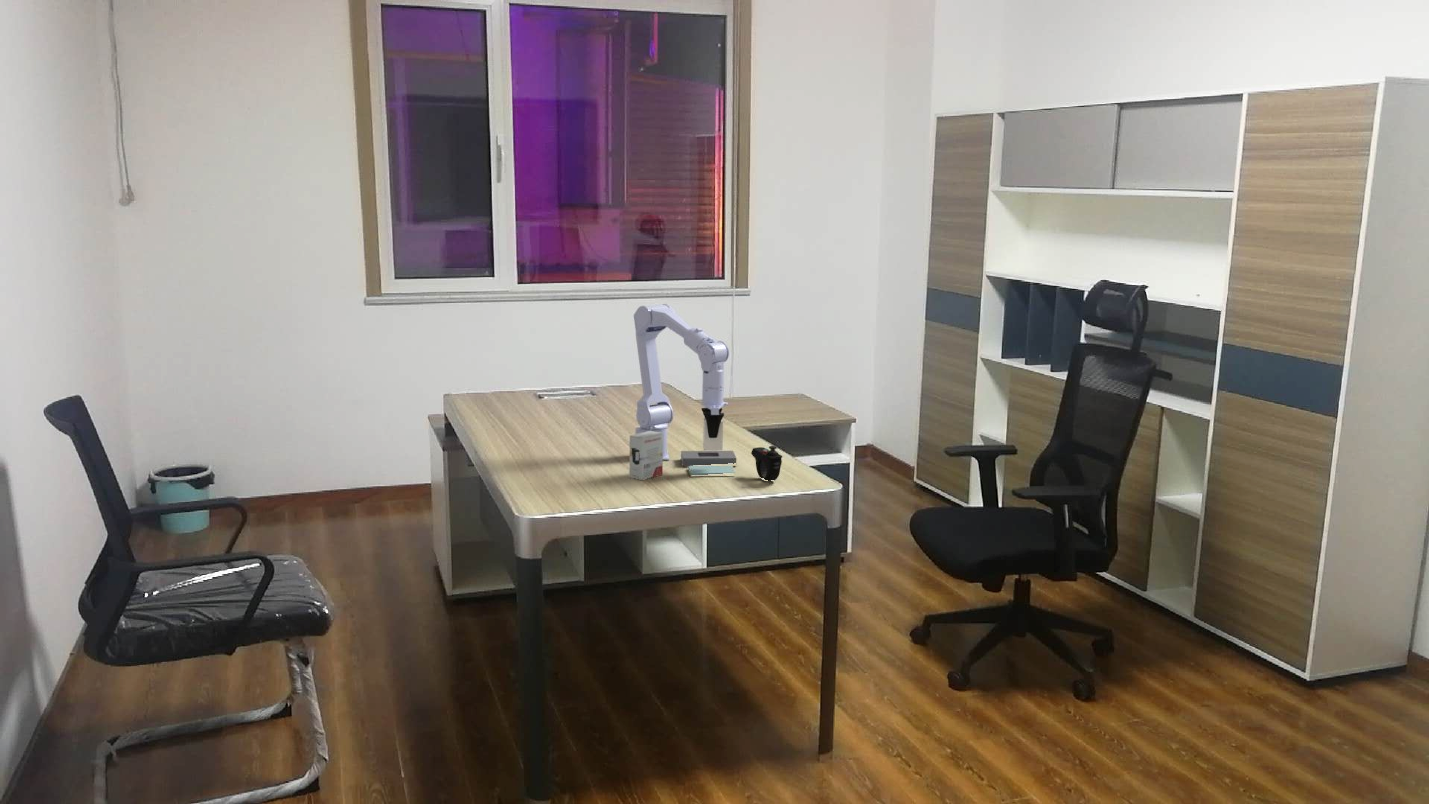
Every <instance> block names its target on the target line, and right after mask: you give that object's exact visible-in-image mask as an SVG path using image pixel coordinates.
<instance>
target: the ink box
mask: <svg viewBox="0 0 1429 804" xmlns="http://www.w3.org/2000/svg"><path fill="white" fill-rule="evenodd" d="M663 461H664V460H663V433H661V432H653V431H647V432H643V433H639V434H636V433H634V434H631V435H629V478H631V479H634V478H636V479H635V480H638V479H639V481H644V479H645V480H648V479H651V477H652V478H654V476H655V477H658V476H657V475H659V476H662V475H663V472H664V471H663V467H664V466H663V464H664V462H663ZM647 478H648V479H647Z"/></svg>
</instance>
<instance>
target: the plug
mask: <svg viewBox="0 0 1429 804" xmlns="http://www.w3.org/2000/svg"><path fill="white" fill-rule="evenodd" d="M702 420H703V425H702V431H703V432H702V433H703V435H702V436H703V437H702V448H703V451H723V450H724V449H723V444H724V443H723V442H724V441H723V438H724V435H723V434H724V421H723V419H722V420H721V423H720V426H719V431H718V435H717V438H709V435H708V428H707V422H706V419H705V417H704V418H703V419H702Z"/></svg>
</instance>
